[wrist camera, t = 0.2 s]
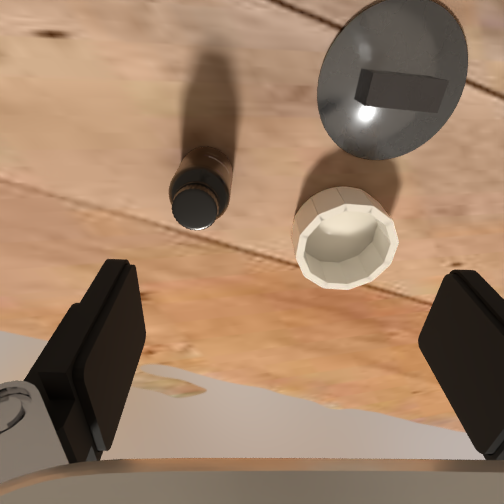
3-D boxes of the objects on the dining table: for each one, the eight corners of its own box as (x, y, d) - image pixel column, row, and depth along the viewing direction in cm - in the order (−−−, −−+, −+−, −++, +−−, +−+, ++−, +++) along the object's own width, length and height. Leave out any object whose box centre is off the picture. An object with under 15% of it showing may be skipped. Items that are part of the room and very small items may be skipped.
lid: (333, -12, 36) (346, -18, 31) (490, 7, 37) (524, 4, 33) (304, 152, 45) (311, 165, 40) (431, 163, 46) (451, 177, 42)
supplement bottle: (235, 147, 44) (232, 182, 34) (230, 197, 48) (227, 242, 38) (180, 141, 44) (160, 175, 33) (180, 192, 47) (162, 237, 37)
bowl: (300, 182, 47) (306, 200, 42) (393, 190, 48) (411, 209, 43) (285, 261, 54) (290, 286, 49) (367, 267, 55) (380, 291, 50)
